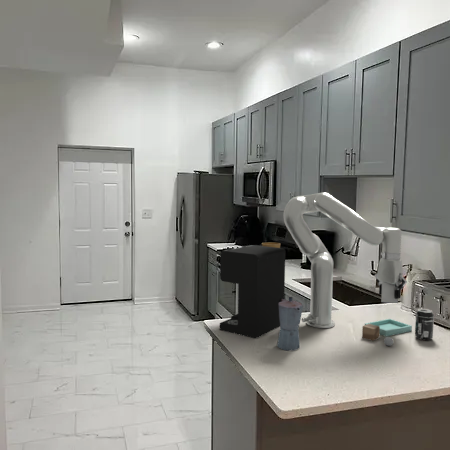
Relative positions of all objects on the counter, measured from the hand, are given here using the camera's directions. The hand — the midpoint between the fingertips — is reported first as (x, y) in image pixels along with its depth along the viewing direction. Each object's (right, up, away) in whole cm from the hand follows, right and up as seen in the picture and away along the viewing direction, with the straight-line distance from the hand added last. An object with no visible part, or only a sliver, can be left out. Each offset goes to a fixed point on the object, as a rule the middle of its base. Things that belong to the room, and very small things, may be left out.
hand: (389, 296), depth 200 cm
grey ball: (-7, -17, -19) cm, 26 cm away
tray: (0, -15, +1) cm, 15 cm away
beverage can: (+11, -16, -10) cm, 22 cm away
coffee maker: (-59, -14, +5) cm, 61 cm away
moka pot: (-47, -17, -21) cm, 54 cm away
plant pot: (-35, 0, +170) cm, 173 cm away
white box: (0, -3, 0) cm, 3 cm away
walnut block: (-11, -16, -9) cm, 22 cm away
